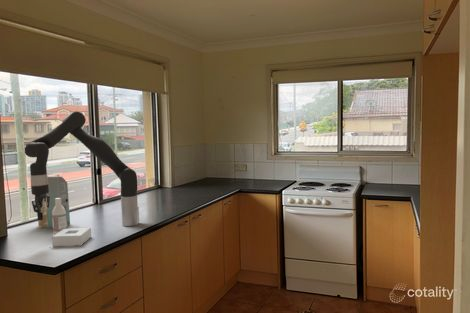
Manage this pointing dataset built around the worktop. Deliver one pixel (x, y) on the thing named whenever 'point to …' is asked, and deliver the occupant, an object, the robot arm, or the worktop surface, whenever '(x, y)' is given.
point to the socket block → (71, 237)
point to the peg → (43, 222)
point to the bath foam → (58, 217)
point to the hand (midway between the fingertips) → (42, 218)
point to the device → (57, 196)
